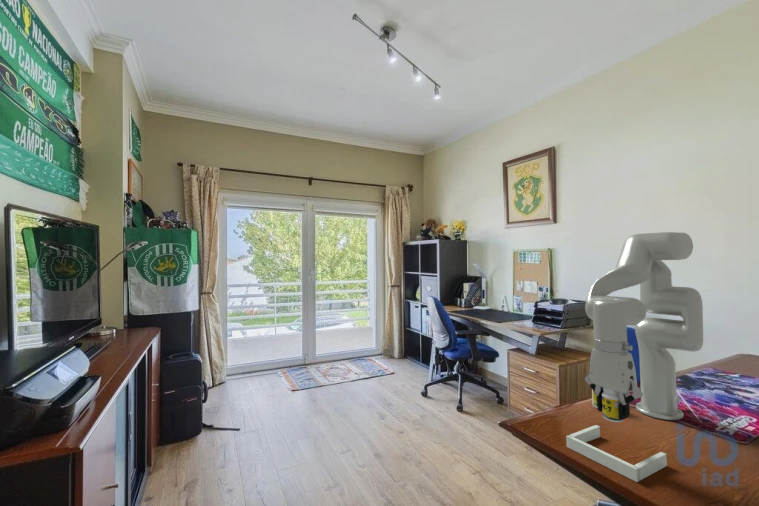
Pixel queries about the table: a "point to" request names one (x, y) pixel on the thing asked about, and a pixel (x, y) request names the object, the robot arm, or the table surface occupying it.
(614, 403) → the supplement bottle
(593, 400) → the supplement bottle
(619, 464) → the frame
